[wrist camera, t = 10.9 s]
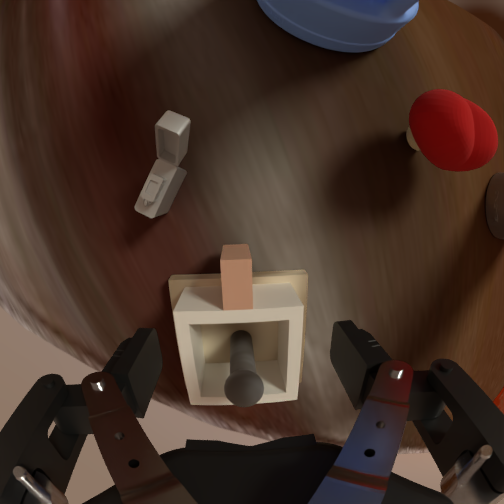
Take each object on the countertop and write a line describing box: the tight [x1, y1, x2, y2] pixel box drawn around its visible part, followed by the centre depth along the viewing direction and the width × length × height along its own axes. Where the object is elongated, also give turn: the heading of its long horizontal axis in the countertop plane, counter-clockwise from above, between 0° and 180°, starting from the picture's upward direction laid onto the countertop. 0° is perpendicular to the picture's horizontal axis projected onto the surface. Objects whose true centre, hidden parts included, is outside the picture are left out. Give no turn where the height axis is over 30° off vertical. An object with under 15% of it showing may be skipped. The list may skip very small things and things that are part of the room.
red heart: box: [406, 89, 498, 171], centre depth 18 cm, size 9×7×10 cm
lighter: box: [134, 110, 191, 218], centre depth 18 cm, size 7×2×8 cm, turn 152°
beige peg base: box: [168, 270, 308, 407], centre depth 21 cm, size 12×12×10 cm
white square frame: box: [173, 244, 304, 405], centre depth 21 cm, size 9×12×5 cm
